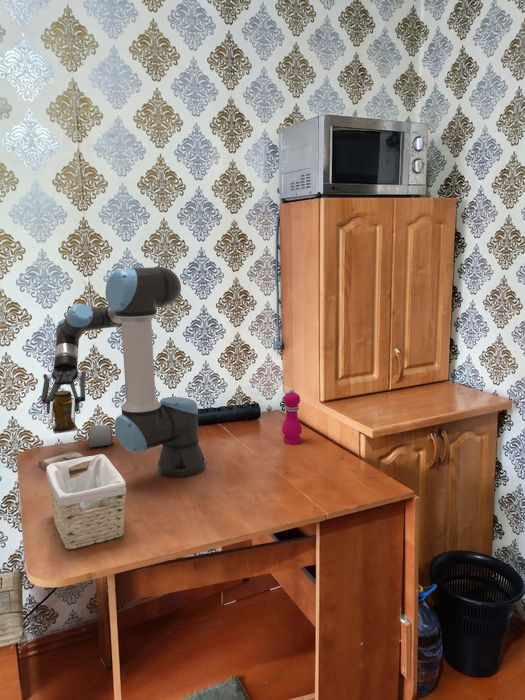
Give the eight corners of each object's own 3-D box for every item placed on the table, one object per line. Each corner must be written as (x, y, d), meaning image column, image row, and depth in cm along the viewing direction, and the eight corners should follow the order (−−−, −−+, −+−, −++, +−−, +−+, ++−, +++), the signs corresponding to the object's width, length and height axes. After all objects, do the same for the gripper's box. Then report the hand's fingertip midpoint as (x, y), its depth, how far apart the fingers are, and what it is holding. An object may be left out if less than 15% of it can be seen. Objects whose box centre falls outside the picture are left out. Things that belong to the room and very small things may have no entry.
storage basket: (48, 514, 153) (43, 462, 151) (108, 500, 161) (105, 451, 158) (63, 556, 133) (57, 497, 130) (131, 538, 140) (127, 482, 137)
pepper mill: (283, 437, 210) (282, 385, 206) (302, 438, 209) (302, 385, 205) (281, 444, 203) (280, 390, 199) (301, 445, 202) (301, 391, 198)
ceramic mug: (113, 447, 203) (112, 426, 201) (90, 450, 200) (88, 429, 199) (111, 438, 212) (109, 418, 211) (88, 441, 210) (86, 421, 208)
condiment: (74, 423, 189) (72, 388, 187) (78, 430, 182) (75, 394, 179) (51, 426, 186) (48, 391, 184) (54, 434, 178) (51, 397, 176)
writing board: (97, 465, 186) (97, 459, 186) (61, 478, 177) (60, 471, 176) (75, 455, 195) (74, 449, 195) (39, 466, 186) (38, 460, 185)
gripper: (96, 364, 197) (94, 424, 184) (38, 367, 193) (33, 428, 181) (93, 352, 191) (91, 413, 178) (34, 355, 187) (27, 417, 175)
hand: (62, 420), depth 179 cm, fingers closed on condiment, 6 cm apart
